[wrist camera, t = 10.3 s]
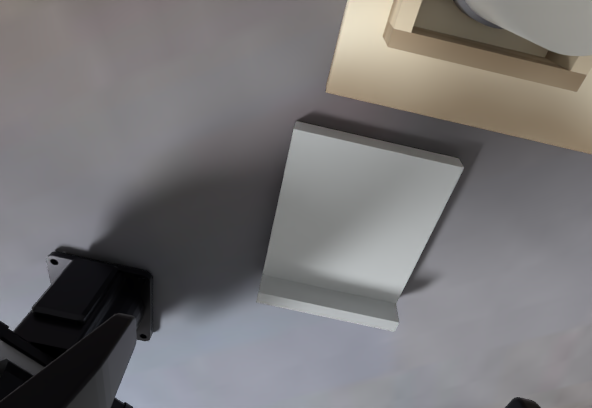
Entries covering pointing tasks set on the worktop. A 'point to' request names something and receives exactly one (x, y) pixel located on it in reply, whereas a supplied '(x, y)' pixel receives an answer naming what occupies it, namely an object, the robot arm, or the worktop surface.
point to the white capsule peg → (539, 21)
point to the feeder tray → (352, 224)
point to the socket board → (461, 72)
